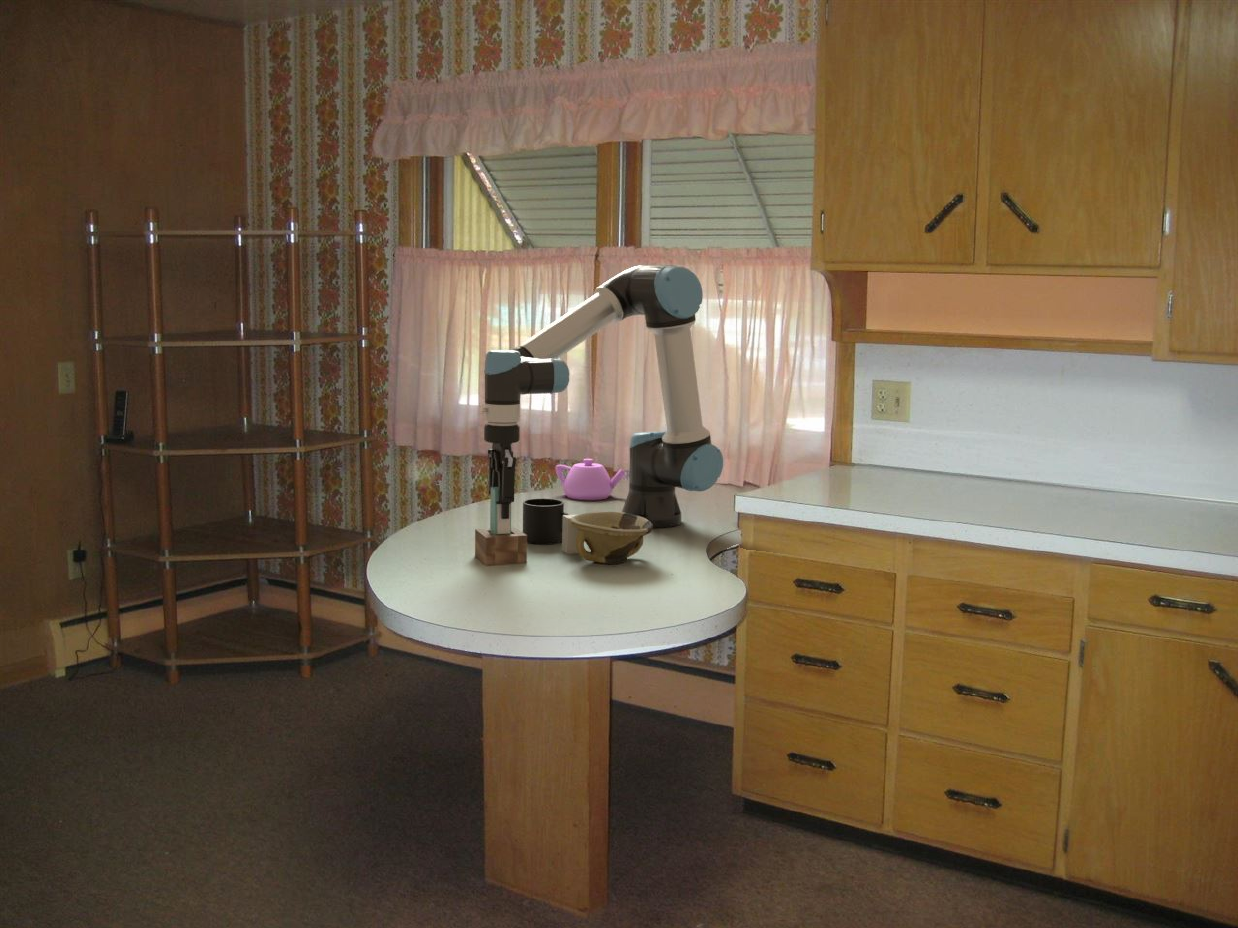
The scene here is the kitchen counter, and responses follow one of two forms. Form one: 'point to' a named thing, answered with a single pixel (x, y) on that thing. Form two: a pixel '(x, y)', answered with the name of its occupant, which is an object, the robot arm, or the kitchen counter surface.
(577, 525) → the bowl
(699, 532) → the kitchen counter surface
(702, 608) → the kitchen counter surface
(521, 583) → the kitchen counter surface
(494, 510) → the peg long
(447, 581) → the kitchen counter surface
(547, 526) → the mug
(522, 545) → the socket block
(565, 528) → the peg mid
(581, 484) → the teapot
